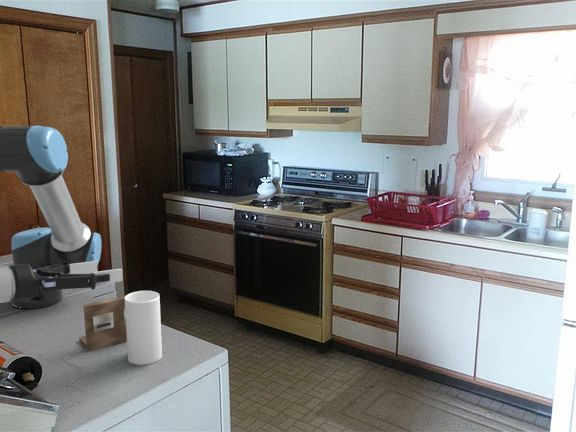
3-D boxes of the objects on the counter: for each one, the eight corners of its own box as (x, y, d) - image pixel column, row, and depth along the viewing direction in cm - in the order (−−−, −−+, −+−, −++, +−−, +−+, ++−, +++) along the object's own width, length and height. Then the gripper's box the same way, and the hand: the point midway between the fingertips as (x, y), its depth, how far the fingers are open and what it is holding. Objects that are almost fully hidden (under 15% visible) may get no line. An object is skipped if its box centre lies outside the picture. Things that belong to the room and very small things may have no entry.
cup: (153, 366, 124) (150, 303, 121) (121, 363, 126) (118, 300, 123) (167, 351, 132) (165, 291, 129) (137, 348, 134) (134, 289, 131)
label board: (89, 352, 132) (86, 307, 129) (79, 340, 138) (76, 298, 136) (149, 335, 141) (147, 294, 139) (137, 326, 148) (134, 285, 145)
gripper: (-6, 291, 117) (87, 278, 131) (30, 313, 98) (133, 295, 113) (-8, 258, 116) (86, 249, 130) (28, 274, 98) (133, 261, 112)
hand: (108, 270), depth 122 cm, fingers open, 13 cm apart
